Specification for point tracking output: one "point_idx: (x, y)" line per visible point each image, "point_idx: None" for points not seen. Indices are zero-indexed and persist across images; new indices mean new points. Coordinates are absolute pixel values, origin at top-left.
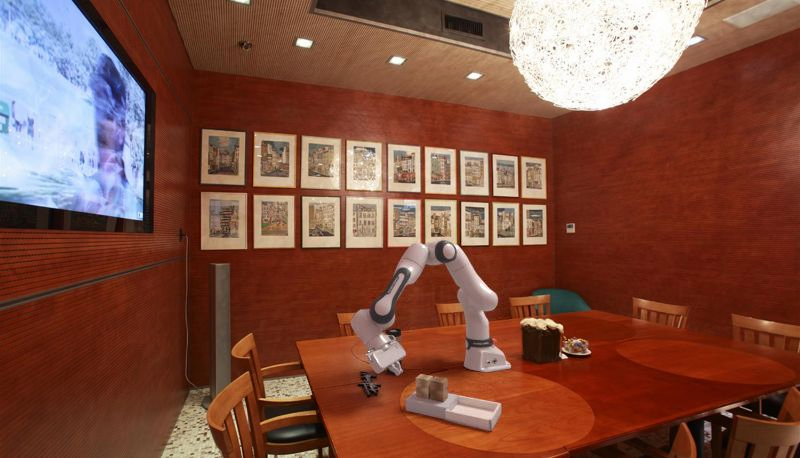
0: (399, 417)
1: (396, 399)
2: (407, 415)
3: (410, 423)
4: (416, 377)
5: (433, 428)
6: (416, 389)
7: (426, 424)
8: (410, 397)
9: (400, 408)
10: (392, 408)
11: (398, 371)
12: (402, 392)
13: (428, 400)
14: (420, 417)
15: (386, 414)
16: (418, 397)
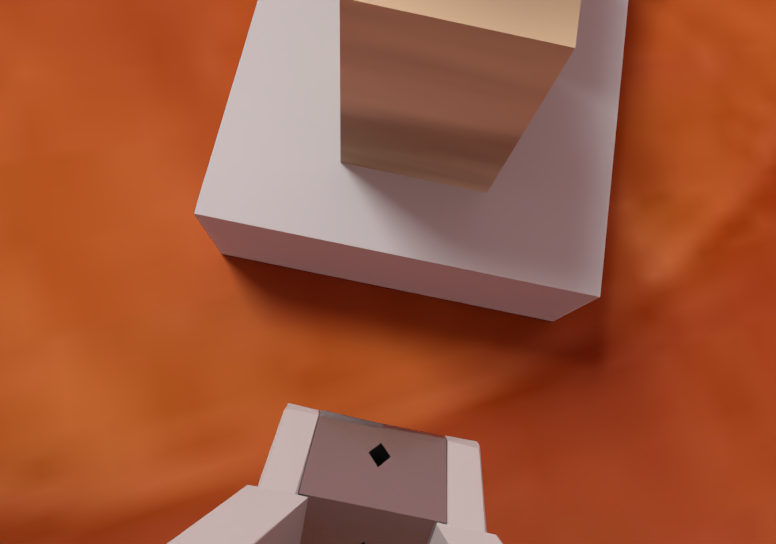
0: (708, 342)
1: None
2: (642, 278)
3: (767, 215)
4: (544, 41)
5: (761, 32)
6: (512, 144)
7: (727, 90)
8: (526, 254)
9: (526, 390)
10: (554, 479)
11: (481, 477)
12: (92, 504)
13: None
14: (634, 158)
15: (703, 496)
16: None
